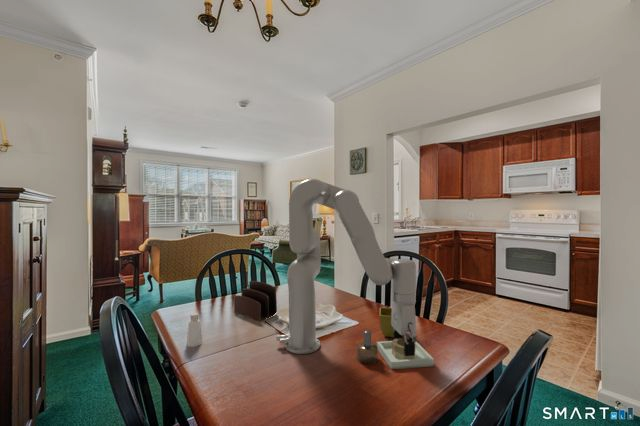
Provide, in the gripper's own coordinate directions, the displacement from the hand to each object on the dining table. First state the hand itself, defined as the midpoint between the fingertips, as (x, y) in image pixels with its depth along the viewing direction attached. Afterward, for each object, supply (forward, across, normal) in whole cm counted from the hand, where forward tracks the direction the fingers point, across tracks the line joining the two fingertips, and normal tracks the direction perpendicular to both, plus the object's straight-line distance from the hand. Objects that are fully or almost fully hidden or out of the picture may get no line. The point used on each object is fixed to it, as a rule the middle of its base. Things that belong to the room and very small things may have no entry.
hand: (403, 348), depth 100 cm
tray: (+3, 0, 0) cm, 3 cm away
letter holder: (+3, -48, -53) cm, 71 cm away
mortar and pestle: (+3, 0, -12) cm, 13 cm away
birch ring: (+2, 0, 0) cm, 2 cm away
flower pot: (+3, -17, +2) cm, 17 cm away
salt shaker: (+3, -19, -72) cm, 75 cm away
